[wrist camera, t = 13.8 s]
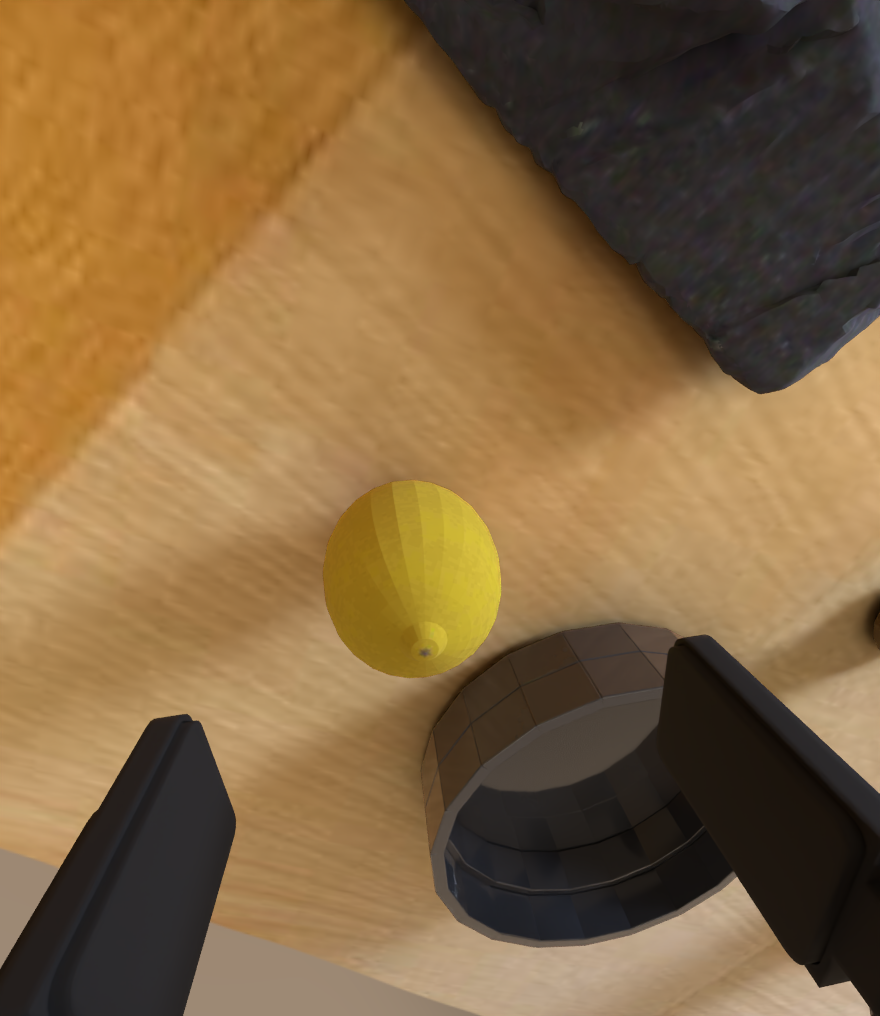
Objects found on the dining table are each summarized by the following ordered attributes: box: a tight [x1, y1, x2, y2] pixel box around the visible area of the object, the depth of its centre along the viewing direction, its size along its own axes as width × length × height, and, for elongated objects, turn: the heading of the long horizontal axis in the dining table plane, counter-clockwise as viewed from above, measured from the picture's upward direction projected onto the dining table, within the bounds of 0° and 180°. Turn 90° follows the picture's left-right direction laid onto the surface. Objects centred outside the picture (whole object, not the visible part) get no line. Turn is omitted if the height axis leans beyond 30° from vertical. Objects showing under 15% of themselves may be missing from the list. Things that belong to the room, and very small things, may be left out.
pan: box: [421, 623, 737, 948], centre depth 23 cm, size 17×17×4 cm
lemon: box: [323, 480, 501, 678], centre depth 15 cm, size 6×6×8 cm
